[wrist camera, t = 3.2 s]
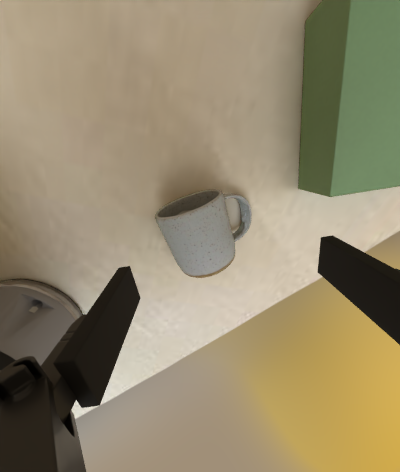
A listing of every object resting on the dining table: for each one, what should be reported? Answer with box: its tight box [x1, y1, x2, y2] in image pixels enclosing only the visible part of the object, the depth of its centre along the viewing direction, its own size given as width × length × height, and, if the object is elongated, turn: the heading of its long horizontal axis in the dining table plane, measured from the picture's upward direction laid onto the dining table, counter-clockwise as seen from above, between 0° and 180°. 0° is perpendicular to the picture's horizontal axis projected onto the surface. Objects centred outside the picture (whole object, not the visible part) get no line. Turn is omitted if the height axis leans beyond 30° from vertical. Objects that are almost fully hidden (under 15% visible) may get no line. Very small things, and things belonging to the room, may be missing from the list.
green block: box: [298, 0, 400, 197], centre depth 18 cm, size 14×16×6 cm
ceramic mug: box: [155, 190, 251, 278], centre depth 22 cm, size 11×8×8 cm
